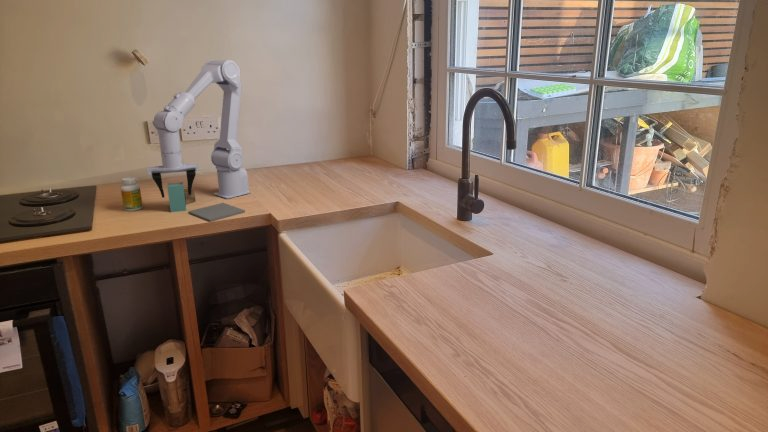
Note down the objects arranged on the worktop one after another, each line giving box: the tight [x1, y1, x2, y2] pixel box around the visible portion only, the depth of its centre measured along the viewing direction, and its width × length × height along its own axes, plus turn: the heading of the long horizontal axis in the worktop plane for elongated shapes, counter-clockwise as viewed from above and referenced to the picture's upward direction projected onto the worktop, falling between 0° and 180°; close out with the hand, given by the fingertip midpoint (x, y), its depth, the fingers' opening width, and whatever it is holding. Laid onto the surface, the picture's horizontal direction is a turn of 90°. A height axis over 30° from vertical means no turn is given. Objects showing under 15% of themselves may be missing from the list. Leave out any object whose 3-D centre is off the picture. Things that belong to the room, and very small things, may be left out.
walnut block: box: [184, 188, 197, 206], centre depth 168 cm, size 4×4×4 cm
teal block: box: [166, 181, 187, 213], centre depth 160 cm, size 4×4×8 cm
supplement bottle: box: [120, 176, 143, 212], centre depth 161 cm, size 5×5×10 cm
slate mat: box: [188, 202, 246, 222], centre depth 158 cm, size 12×12×1 cm
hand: (176, 195), depth 160 cm, fingers open, 7 cm apart
